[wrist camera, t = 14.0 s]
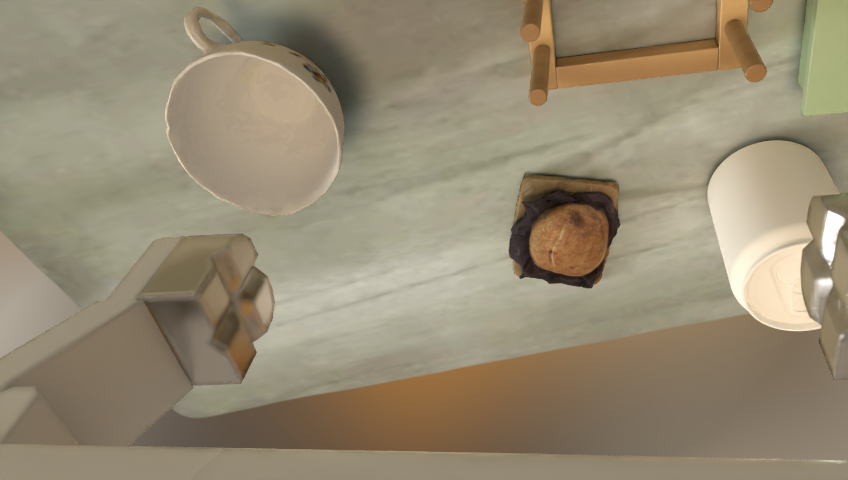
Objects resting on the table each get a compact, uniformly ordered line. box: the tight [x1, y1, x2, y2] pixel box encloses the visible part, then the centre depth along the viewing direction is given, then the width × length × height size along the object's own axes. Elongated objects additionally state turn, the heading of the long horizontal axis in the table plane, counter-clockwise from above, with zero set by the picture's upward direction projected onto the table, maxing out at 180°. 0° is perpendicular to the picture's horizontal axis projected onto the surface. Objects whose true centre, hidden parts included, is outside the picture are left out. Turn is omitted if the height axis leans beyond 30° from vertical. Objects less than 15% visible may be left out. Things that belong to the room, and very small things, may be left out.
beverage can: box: [707, 140, 840, 331], centre depth 47 cm, size 8×8×12 cm
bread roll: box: [509, 174, 620, 288], centre depth 56 cm, size 11×8×4 cm
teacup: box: [165, 7, 344, 216], centre depth 50 cm, size 15×12×8 cm
